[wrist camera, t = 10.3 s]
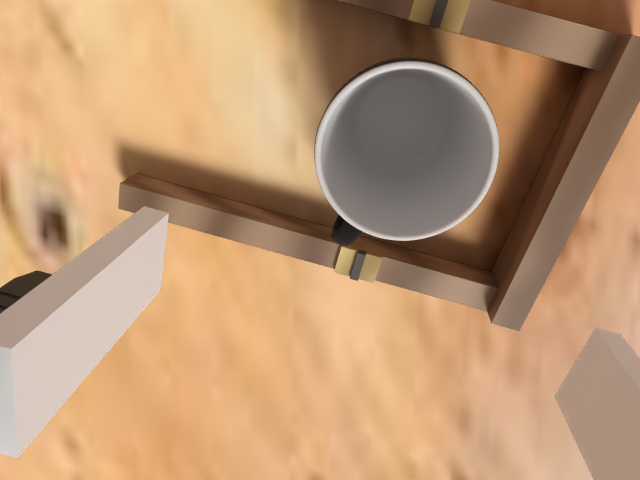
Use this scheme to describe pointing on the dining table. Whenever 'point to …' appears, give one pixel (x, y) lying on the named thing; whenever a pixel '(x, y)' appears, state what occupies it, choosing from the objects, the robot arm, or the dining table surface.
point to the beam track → (537, 209)
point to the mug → (405, 151)
